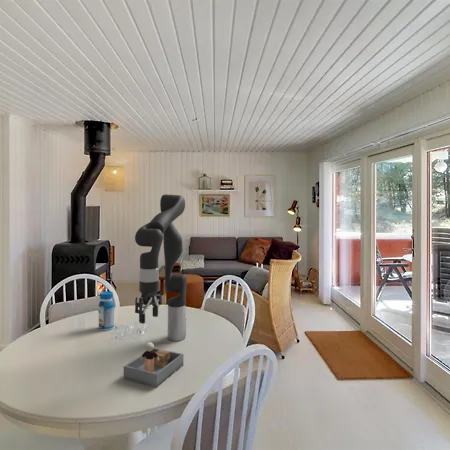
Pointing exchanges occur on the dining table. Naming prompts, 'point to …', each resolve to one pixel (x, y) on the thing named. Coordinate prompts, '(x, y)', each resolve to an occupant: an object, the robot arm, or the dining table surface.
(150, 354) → the grandmother figurine
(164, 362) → the walnut block
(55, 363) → the dining table surface
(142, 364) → the tote
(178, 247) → the robot arm
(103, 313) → the blue labelled canister
